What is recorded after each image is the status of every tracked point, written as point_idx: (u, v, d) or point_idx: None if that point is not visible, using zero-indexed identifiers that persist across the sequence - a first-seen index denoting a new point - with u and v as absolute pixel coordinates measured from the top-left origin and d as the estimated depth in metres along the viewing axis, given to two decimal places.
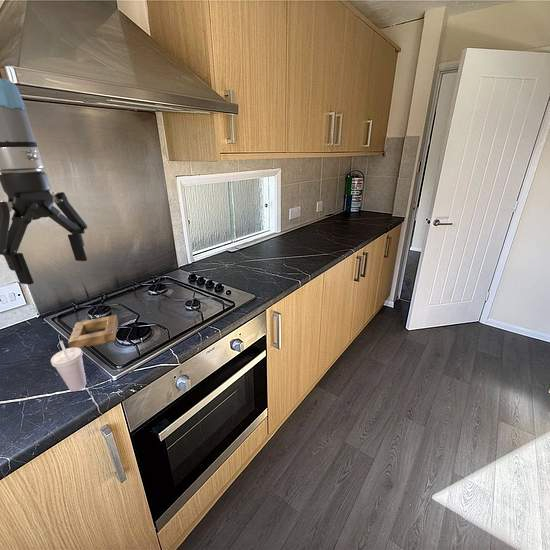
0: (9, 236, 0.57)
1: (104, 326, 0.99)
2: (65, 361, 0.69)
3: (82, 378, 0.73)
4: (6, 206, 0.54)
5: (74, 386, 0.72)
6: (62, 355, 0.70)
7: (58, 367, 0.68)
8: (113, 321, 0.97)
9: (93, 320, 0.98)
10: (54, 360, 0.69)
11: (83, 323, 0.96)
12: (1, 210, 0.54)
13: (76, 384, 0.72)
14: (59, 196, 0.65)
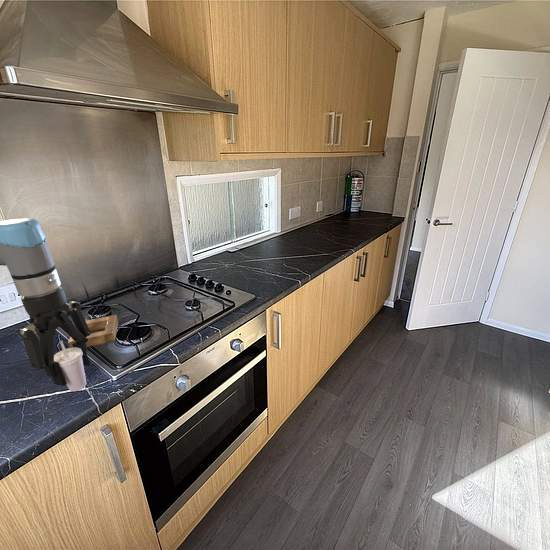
0: (42, 351, 0.65)
1: (104, 326, 0.99)
2: (65, 361, 0.69)
3: (82, 378, 0.73)
4: (31, 332, 0.61)
5: (74, 386, 0.72)
6: (62, 355, 0.70)
7: None
8: (113, 321, 0.97)
9: (93, 320, 0.98)
10: (54, 360, 0.69)
11: None
12: (29, 338, 0.61)
13: (76, 384, 0.72)
14: (75, 305, 0.71)
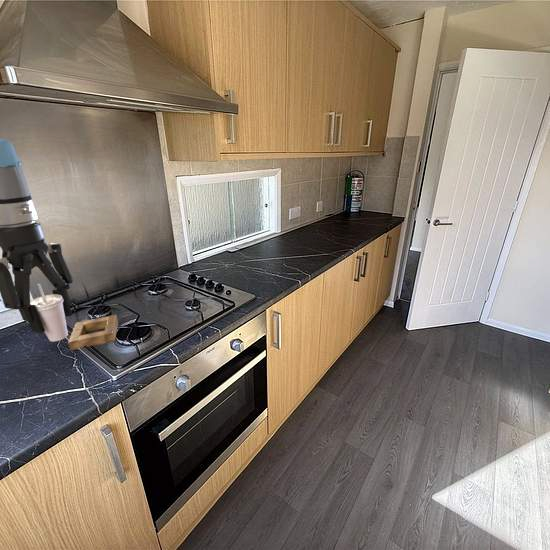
0: (17, 290, 0.60)
1: (104, 326, 0.99)
2: (43, 305, 0.63)
3: (62, 327, 0.67)
4: (3, 266, 0.55)
5: (54, 335, 0.67)
6: (40, 300, 0.65)
7: None
8: (113, 321, 0.97)
9: (93, 320, 0.98)
10: (31, 304, 0.63)
11: (83, 323, 0.96)
12: (0, 271, 0.55)
13: (56, 333, 0.66)
14: (55, 246, 0.65)
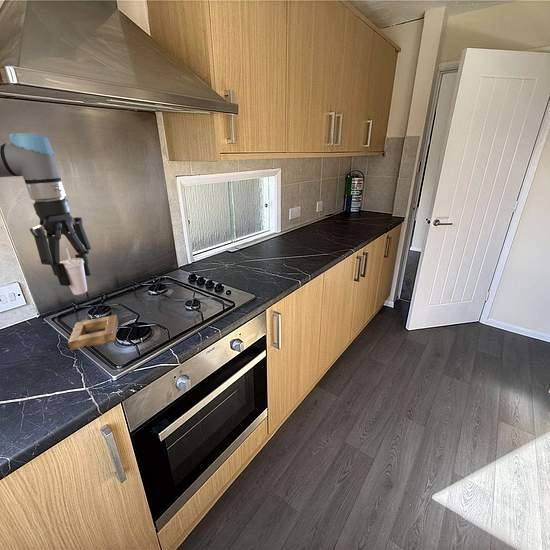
0: (50, 251, 0.78)
1: (104, 326, 0.99)
2: (69, 264, 0.81)
3: (83, 283, 0.85)
4: (41, 230, 0.73)
5: (77, 289, 0.84)
6: (67, 261, 0.83)
7: None
8: (113, 321, 0.97)
9: (93, 320, 0.98)
10: None
11: (83, 323, 0.96)
12: (39, 234, 0.73)
13: (79, 287, 0.84)
14: (77, 219, 0.83)
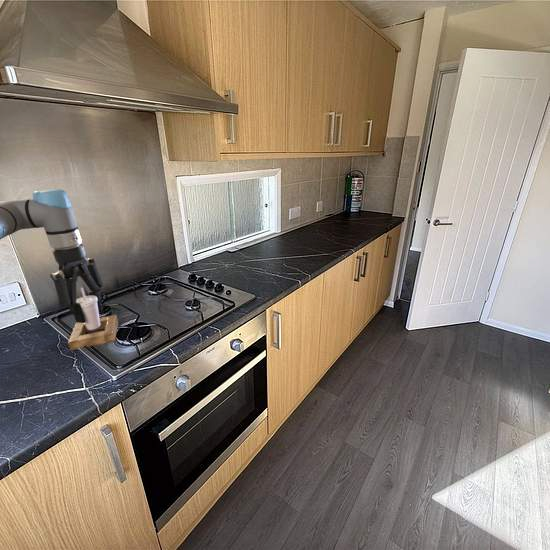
0: (68, 293, 0.85)
1: (104, 326, 0.99)
2: (85, 303, 0.88)
3: (97, 319, 0.92)
4: (60, 276, 0.81)
5: (91, 325, 0.92)
6: (82, 299, 0.90)
7: None
8: (113, 321, 0.97)
9: None
10: None
11: (83, 323, 0.96)
12: (59, 280, 0.80)
13: (93, 323, 0.91)
14: (91, 261, 0.91)
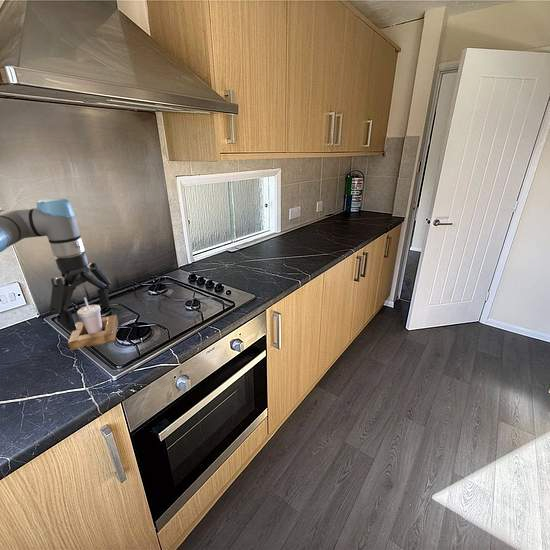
0: (62, 299, 0.83)
1: (104, 326, 0.99)
2: (88, 313, 0.89)
3: (100, 328, 0.94)
4: (61, 281, 0.81)
5: None
6: (85, 309, 0.91)
7: (83, 317, 0.89)
8: (113, 321, 0.97)
9: None
10: (79, 312, 0.90)
11: None
12: (58, 284, 0.80)
13: None
14: (93, 265, 0.91)
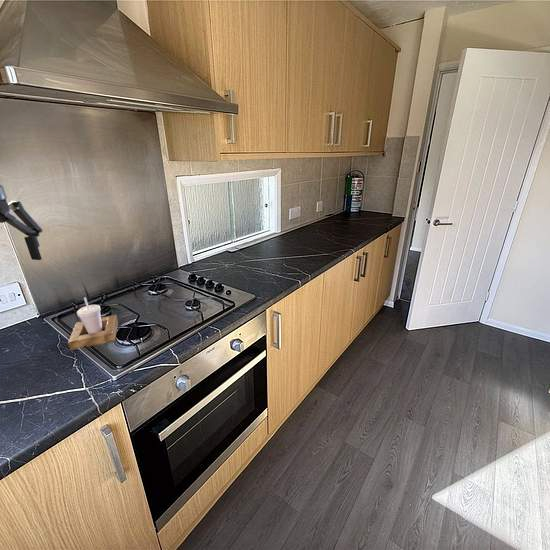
0: None
1: (104, 326, 0.99)
2: (88, 313, 0.89)
3: (100, 328, 0.94)
4: None
5: None
6: (85, 309, 0.91)
7: (82, 317, 0.89)
8: (113, 321, 0.97)
9: None
10: (79, 312, 0.90)
11: None
12: None
13: None
14: (16, 204, 0.76)
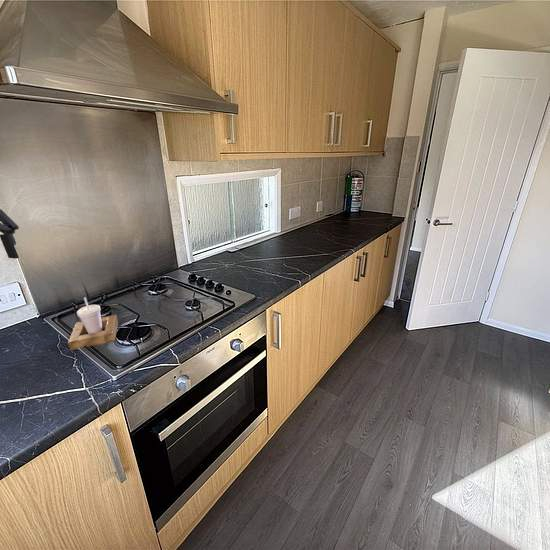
0: None
1: (104, 326, 0.99)
2: (88, 313, 0.89)
3: (100, 328, 0.94)
4: None
5: None
6: (85, 309, 0.91)
7: (82, 317, 0.89)
8: (113, 321, 0.97)
9: None
10: (79, 312, 0.90)
11: None
12: None
13: None
14: None
